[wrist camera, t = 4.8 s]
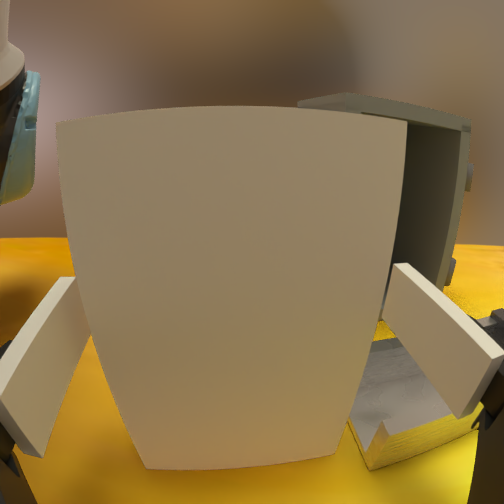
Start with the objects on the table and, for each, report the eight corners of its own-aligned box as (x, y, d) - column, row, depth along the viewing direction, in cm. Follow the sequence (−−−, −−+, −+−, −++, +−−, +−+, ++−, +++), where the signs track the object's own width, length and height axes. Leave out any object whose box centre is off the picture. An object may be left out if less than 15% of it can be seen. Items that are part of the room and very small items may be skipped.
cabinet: (324, 328, 25) (346, 92, 18) (290, 265, 36) (297, 101, 30) (444, 310, 27) (480, 122, 20) (389, 260, 38) (406, 115, 31)
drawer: (368, 471, 13) (393, 429, 11) (332, 386, 19) (342, 339, 18) (531, 396, 15) (555, 355, 13) (485, 347, 21) (502, 308, 20)
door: (146, 468, 13) (55, 122, 7) (151, 416, 17) (99, 120, 11) (334, 454, 14) (407, 121, 8) (316, 404, 18) (354, 118, 12)
